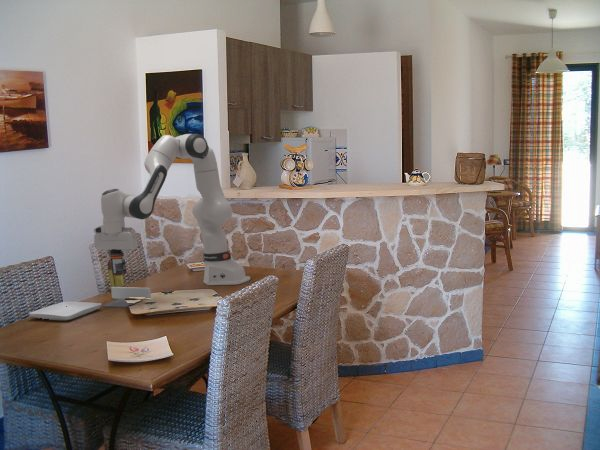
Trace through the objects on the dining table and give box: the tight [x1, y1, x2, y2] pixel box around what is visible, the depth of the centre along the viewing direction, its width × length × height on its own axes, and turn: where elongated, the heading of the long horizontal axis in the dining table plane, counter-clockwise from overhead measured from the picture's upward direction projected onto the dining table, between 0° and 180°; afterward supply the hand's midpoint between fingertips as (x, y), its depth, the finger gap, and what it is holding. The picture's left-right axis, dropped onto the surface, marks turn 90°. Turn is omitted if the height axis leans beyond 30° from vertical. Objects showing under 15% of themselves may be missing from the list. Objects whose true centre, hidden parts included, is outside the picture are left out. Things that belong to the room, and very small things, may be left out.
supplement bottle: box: [110, 249, 127, 276], centre depth 310 cm, size 6×6×11 cm
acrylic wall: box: [110, 286, 152, 300], centre depth 321 cm, size 20×1×5 cm, turn 66°
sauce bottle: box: [107, 250, 125, 288], centre depth 341 cm, size 6×6×20 cm
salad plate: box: [28, 301, 103, 322], centre depth 299 cm, size 21×21×3 cm
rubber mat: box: [101, 299, 134, 309], centre depth 312 cm, size 12×12×1 cm
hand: (117, 259), depth 310 cm, fingers closed on supplement bottle, 6 cm apart
